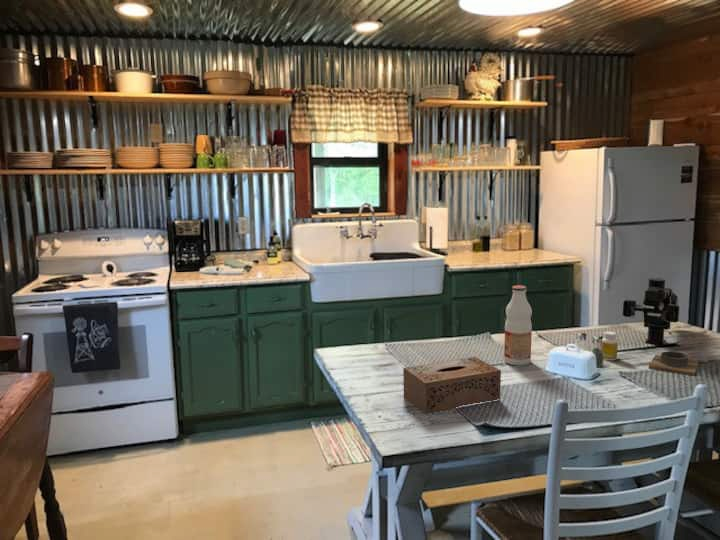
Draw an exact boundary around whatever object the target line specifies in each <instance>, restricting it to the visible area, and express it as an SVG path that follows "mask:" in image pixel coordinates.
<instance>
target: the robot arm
mask: <svg viewBox="0 0 720 540" xmlns="http://www.w3.org/2000/svg"><path fill="white" fill-rule="evenodd" d="M636 301H637V300H634V299H625V300H624V301H623V303H622V304H623V305H622V307H623V308H622V316H623V317H625V318H633V319H634V318H635V316H636V312H642V313H643V327H644V328H647V338H646V339H645V343H646V344H653V345H659V346H660V345H661V346H664V345H665V343H666V339H664V338H665V337H664V336H665V330H670V329H671V323H678V322H679V320H680V311H681V307H680V305H679V297H678V296H677V295H676V294H675V293H674V291H673V289H672V288H669V287H668V288H667V287H666V279H663V278H660V277H655V278H652V277H649V278H648V285H647V286H646V289H645V291H644V298H643V301H642V302H643V303H642V304H637V302H636Z"/></svg>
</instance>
